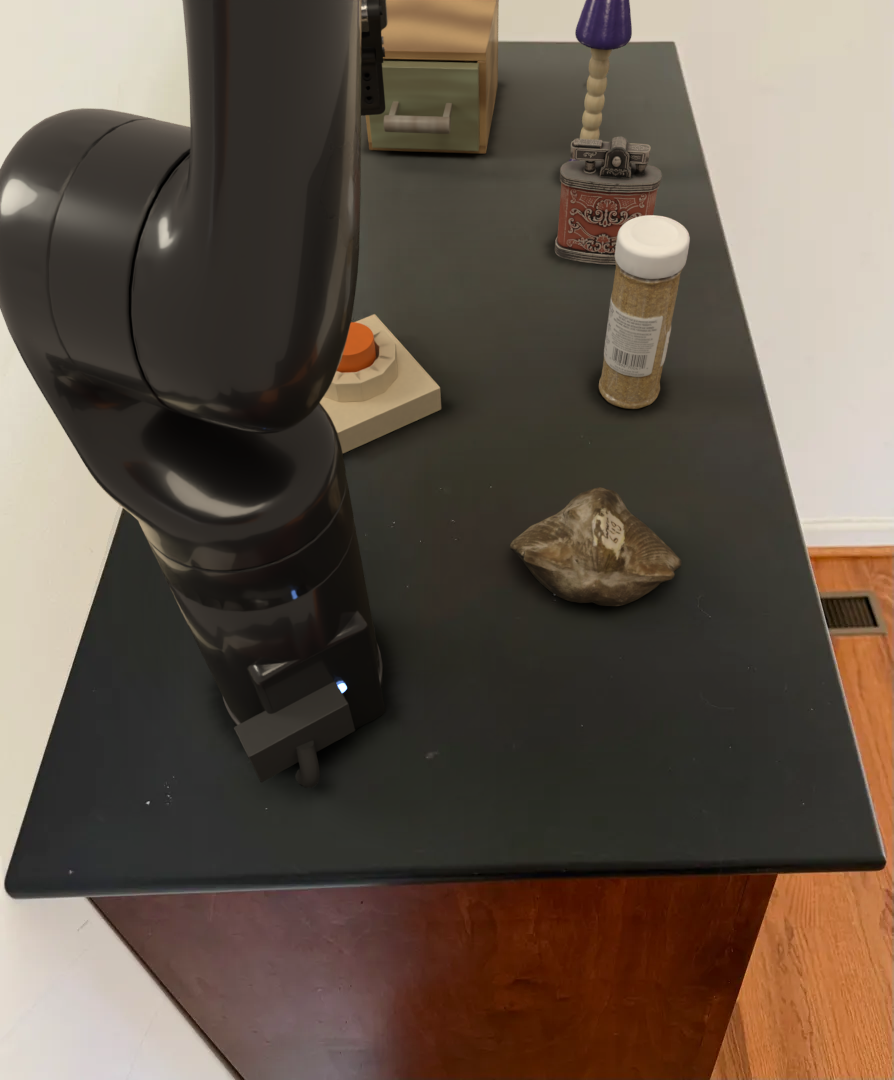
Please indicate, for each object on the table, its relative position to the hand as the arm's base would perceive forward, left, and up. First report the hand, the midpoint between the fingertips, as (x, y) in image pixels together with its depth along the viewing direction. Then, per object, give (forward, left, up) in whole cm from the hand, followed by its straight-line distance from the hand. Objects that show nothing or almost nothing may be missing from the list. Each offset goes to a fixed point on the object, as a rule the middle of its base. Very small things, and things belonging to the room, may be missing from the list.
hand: (370, 109), depth 66 cm
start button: (-12, +9, -11) cm, 18 cm away
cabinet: (+20, -17, -14) cm, 30 cm away
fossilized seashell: (-35, +4, -15) cm, 38 cm away
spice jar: (-22, -8, -15) cm, 28 cm away
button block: (-12, +9, -14) cm, 21 cm away
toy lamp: (+2, -23, -15) cm, 27 cm away
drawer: (+17, -15, -13) cm, 26 cm away
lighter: (-8, -17, -15) cm, 24 cm away
